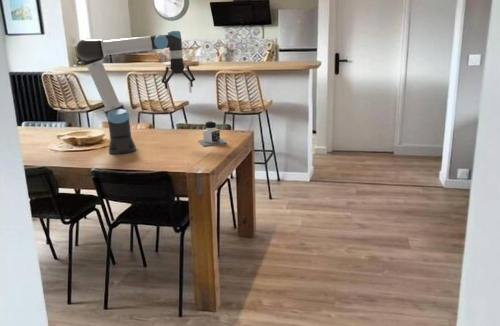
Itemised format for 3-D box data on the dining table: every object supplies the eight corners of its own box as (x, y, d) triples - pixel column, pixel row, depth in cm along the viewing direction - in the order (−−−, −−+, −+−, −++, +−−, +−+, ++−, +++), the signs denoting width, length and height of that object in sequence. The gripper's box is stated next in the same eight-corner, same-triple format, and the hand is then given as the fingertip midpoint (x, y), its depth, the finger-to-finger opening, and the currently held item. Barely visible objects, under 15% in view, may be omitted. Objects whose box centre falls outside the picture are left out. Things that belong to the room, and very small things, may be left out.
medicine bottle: (212, 143, 266) (211, 123, 263) (203, 142, 270) (202, 122, 267) (220, 140, 271) (219, 121, 268) (211, 139, 276) (210, 120, 272)
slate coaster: (203, 146, 263) (203, 145, 262) (198, 141, 275) (198, 140, 275) (226, 143, 267) (226, 142, 267) (220, 139, 280) (220, 137, 279)
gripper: (156, 59, 262) (159, 95, 268) (198, 56, 270) (200, 92, 276) (154, 58, 269) (158, 94, 275) (195, 56, 277) (198, 91, 283)
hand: (179, 93), depth 275 cm, fingers open, 13 cm apart
